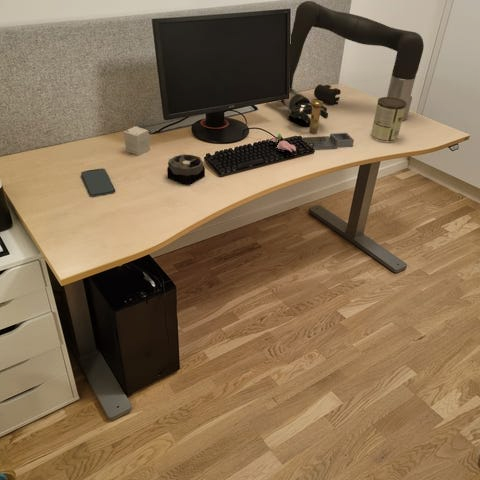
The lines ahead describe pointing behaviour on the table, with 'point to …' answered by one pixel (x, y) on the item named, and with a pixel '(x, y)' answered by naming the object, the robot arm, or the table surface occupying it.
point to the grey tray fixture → (330, 141)
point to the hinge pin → (315, 116)
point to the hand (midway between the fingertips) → (317, 117)
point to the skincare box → (137, 140)
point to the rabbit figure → (283, 144)
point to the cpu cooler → (185, 169)
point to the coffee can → (388, 119)
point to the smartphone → (97, 182)
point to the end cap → (327, 94)
